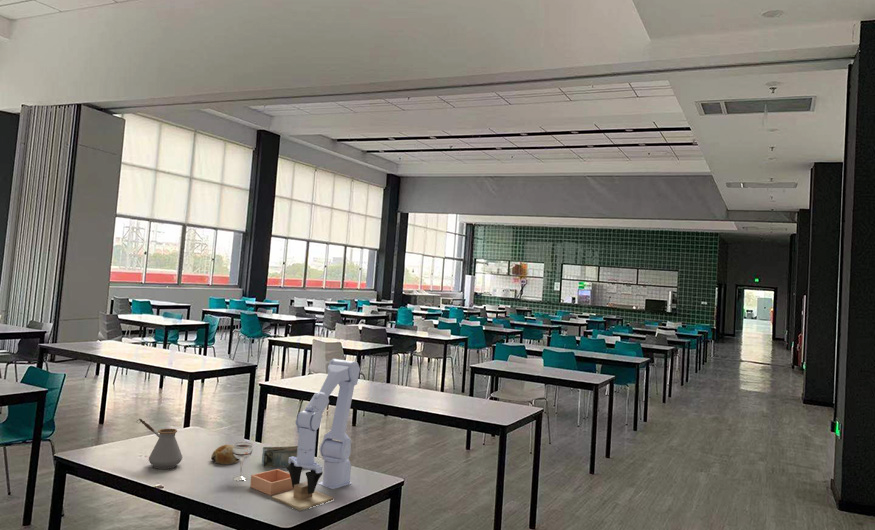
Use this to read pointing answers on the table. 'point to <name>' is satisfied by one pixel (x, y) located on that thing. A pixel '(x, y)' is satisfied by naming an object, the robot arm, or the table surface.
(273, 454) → the beverage carton
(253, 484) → the orange open box
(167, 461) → the coffee pot
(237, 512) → the table surface
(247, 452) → the wineglass
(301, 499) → the lid
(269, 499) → the mat
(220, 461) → the bread roll
